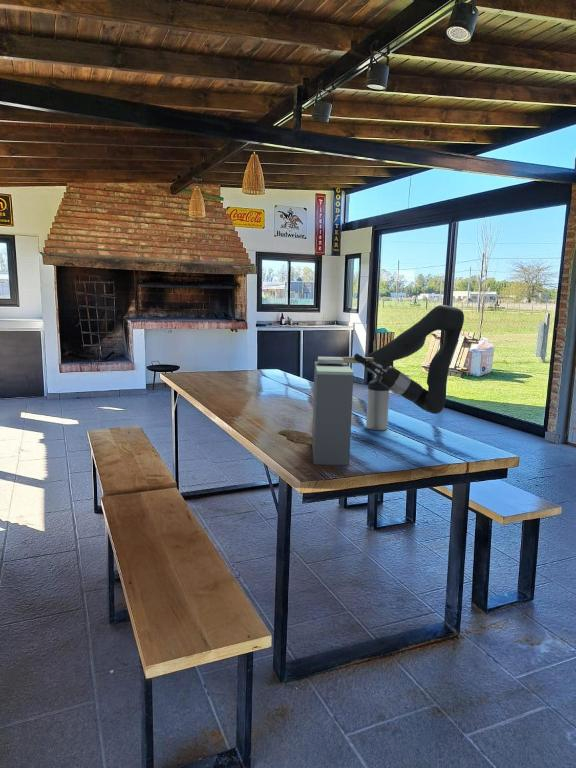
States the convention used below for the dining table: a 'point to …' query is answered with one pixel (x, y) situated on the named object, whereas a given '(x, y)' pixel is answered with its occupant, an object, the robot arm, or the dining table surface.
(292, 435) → the wooden fragment
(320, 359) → the hammer
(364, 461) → the dining table surface
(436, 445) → the dining table surface
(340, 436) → the blue-grey rectangular block
